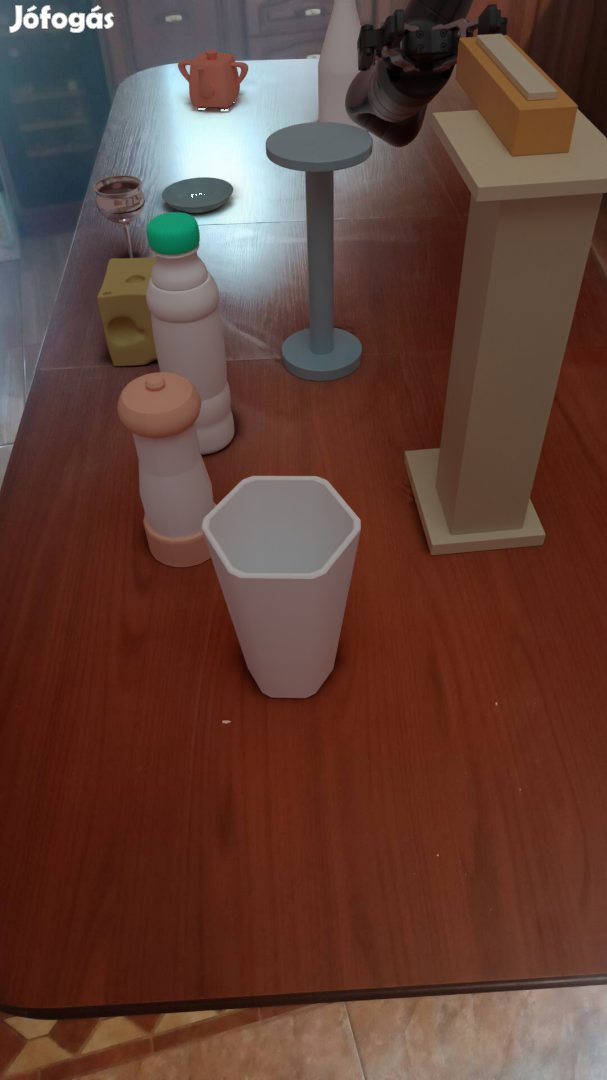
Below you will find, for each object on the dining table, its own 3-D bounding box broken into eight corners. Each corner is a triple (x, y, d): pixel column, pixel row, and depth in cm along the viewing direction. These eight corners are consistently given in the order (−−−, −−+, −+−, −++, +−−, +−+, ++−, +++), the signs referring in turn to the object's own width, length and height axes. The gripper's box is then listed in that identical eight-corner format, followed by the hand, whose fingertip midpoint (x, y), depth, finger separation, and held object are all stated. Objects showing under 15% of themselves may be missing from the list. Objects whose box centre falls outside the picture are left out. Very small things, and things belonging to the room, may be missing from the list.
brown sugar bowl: (177, 101, 170) (170, 46, 162) (229, 91, 173) (224, 37, 166) (203, 121, 161) (196, 65, 153) (256, 110, 164) (253, 55, 157)
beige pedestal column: (403, 461, 86) (432, 112, 61) (503, 452, 87) (572, 103, 62) (430, 555, 77) (478, 187, 52) (543, 545, 77) (644, 175, 52)
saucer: (160, 222, 129) (158, 208, 127) (166, 191, 137) (164, 178, 136) (233, 219, 129) (232, 204, 128) (235, 188, 137) (234, 175, 136)
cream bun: (454, 78, 67) (459, 30, 64) (502, 75, 67) (508, 27, 64) (511, 156, 55) (520, 101, 52) (568, 152, 55) (580, 97, 53)
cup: (355, 618, 72) (360, 475, 59) (356, 717, 65) (361, 578, 52) (231, 617, 72) (210, 474, 60) (219, 715, 65) (192, 576, 53)
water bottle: (190, 413, 93) (155, 199, 76) (245, 425, 92) (223, 209, 74) (161, 449, 89) (117, 231, 71) (218, 463, 87) (188, 242, 69)
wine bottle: (308, 133, 154) (304, -58, 133) (343, 120, 159) (345, -67, 137) (343, 146, 149) (344, -51, 128) (378, 132, 154) (386, -60, 132)
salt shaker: (237, 540, 79) (217, 376, 65) (179, 579, 76) (144, 416, 62) (191, 504, 83) (162, 343, 69) (134, 541, 79) (91, 378, 65)
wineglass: (100, 267, 119) (82, 185, 110) (137, 251, 122) (122, 170, 114) (128, 282, 116) (111, 199, 107) (165, 265, 119) (152, 183, 110)
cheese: (193, 366, 100) (182, 293, 93) (107, 369, 100) (90, 296, 93) (200, 322, 107) (190, 251, 100) (120, 325, 108) (105, 254, 100)
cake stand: (358, 331, 105) (364, 118, 86) (371, 379, 97) (381, 157, 78) (274, 338, 104) (262, 125, 86) (281, 387, 97) (269, 165, 78)
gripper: (345, 35, 87) (367, -25, 71) (474, 28, 87) (525, -33, 72) (348, 112, 89) (371, 69, 73) (475, 104, 89) (524, 61, 74)
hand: (447, 19), depth 72 cm, fingers open, 8 cm apart
